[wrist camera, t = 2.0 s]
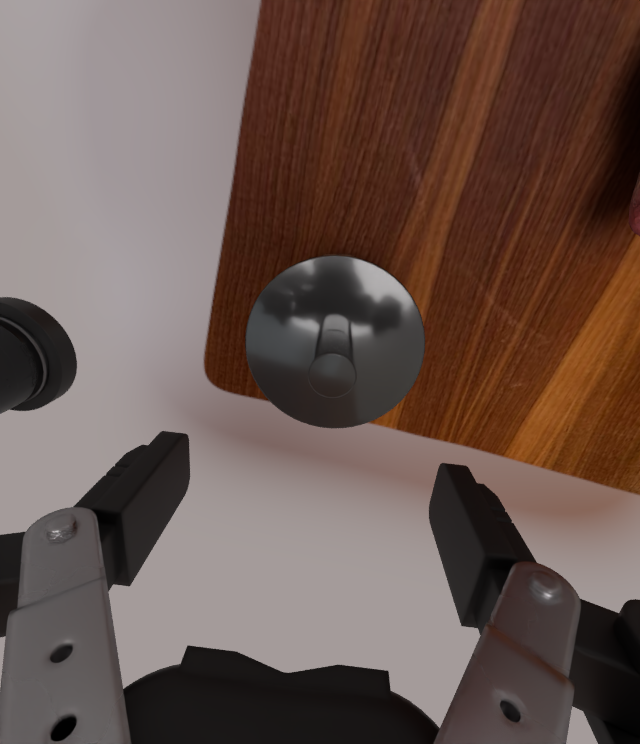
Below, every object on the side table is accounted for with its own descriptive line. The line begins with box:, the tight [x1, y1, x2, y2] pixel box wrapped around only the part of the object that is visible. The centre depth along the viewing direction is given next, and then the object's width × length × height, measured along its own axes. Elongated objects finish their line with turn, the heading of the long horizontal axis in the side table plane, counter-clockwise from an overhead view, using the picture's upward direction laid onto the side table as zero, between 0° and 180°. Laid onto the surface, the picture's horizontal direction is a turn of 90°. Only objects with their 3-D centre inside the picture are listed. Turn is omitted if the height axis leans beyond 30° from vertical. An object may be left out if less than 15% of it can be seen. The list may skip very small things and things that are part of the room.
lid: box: [245, 255, 425, 428], centre depth 20 cm, size 11×11×6 cm
